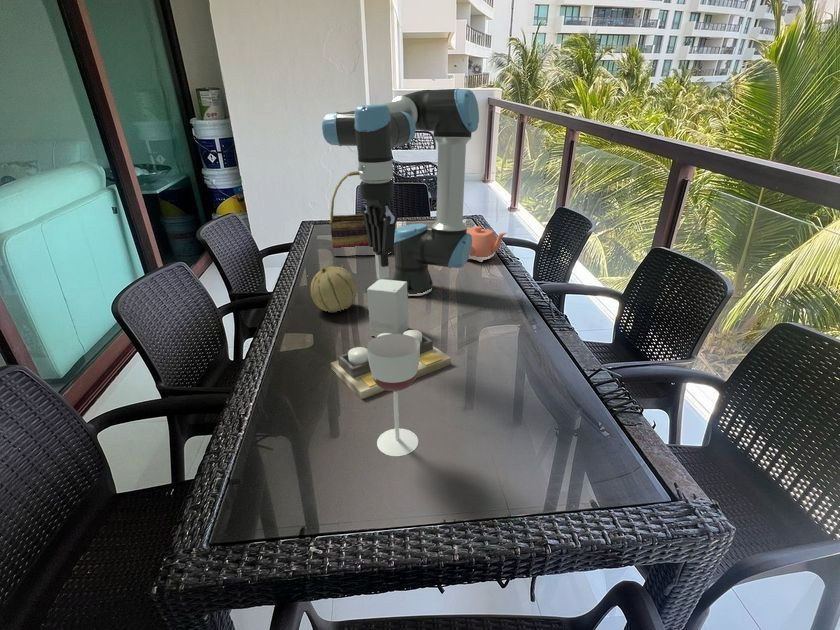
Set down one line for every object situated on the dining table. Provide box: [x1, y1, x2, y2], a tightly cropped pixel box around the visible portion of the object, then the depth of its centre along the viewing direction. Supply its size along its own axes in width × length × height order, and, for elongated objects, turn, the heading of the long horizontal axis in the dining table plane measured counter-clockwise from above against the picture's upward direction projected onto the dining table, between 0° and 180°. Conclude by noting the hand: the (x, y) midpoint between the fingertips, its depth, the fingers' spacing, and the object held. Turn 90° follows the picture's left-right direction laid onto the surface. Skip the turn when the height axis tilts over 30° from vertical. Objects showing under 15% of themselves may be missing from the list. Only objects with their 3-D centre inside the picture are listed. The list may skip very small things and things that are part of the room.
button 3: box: [403, 329, 423, 344], centre depth 122 cm, size 5×5×4 cm
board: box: [330, 334, 452, 400], centre depth 117 cm, size 16×26×4 cm, turn 125°
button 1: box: [347, 346, 369, 367], centre depth 114 cm, size 5×5×4 cm
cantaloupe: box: [310, 266, 358, 313], centre depth 147 cm, size 15×15×15 cm
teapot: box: [467, 225, 508, 257], centre depth 194 cm, size 18×18×14 cm
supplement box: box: [366, 278, 410, 337], centre depth 133 cm, size 9×9×15 cm
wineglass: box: [366, 334, 420, 457], centre depth 87 cm, size 9×10×22 cm
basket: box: [328, 170, 369, 249], centre depth 202 cm, size 26×15×35 cm, turn 97°
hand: (383, 277), depth 114 cm, fingers closed
